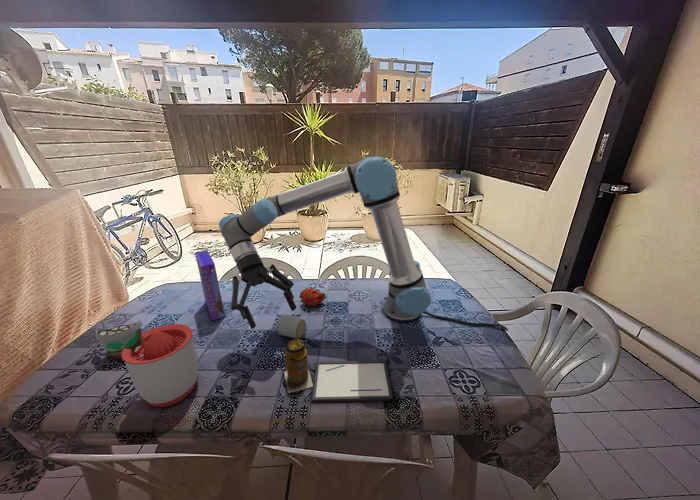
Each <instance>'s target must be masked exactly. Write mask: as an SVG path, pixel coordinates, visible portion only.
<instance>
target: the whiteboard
mask: <svg viewBox="0 0 700 500" xmlns="http://www.w3.org/2000/svg"><path fill="white" fill-rule="evenodd" d="M393 400H394V397H393V391H392V386H391V380H390V376H389V371H388V366H387V361H386V360H385V359H384V360H382V359H381V360H380V359H379V360H336V361H335V360H333V361H332V360H331V361H329V360H327V361H316V365H315V372H314V381H313V387H312V395H311V402H312V403H336V402H338V403H339V402H341V403H342V402H381V401H382V402H384V401H385V402H388V401H393Z"/></svg>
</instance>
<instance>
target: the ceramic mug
mask: <svg viewBox="0 0 700 500" xmlns="http://www.w3.org/2000/svg"><path fill="white" fill-rule="evenodd" d="M306 327H307V323H306V321H305V320H304V319H303V318H301V317H298V316H294V315H291V314H289V313H285V314H283V315H282V316H281V317H280V318H279V321H278V324H277V333H278V335H280V336H283V337H287V338H291V339H299V340H300V339H301V338H302V337H303V335H304V334H305V331H306Z"/></svg>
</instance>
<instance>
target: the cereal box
mask: <svg viewBox="0 0 700 500" xmlns="http://www.w3.org/2000/svg"><path fill="white" fill-rule="evenodd" d="M194 255H195V259H196V265H197V269H198V273H199V278H200V282H201V283H200V284H201V286H202V291H203V295H204V300H205V304H206V307H207V310H208V313H209V316H210V319H211V321H213V322H214V321H216V320H220V319H223V318H226V315H225V310H224V306H223V305H224V304H223V300H222V295H221V290H220V289H221V288H220V283H219V280H218V274H217V269H216V263H215V261H214V260H213V258H212V255H210V253H209V251H208V250H202V251H198V252H195V253H194Z"/></svg>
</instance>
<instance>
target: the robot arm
mask: <svg viewBox="0 0 700 500" xmlns="http://www.w3.org/2000/svg"><path fill="white" fill-rule="evenodd" d="M397 180H398V175H397V171H396V169H395V166H394V164H392V163H391V161H389V160H388V159H386V158H385V157H382V156H376V155H370V156H366V157H365V158H363V159H361V160H359V161H358V162H355V163H354V164H351V165H348V166H346V167H345V168H344V170H343V171H341V172H338V173H335V174H332V175H329V176H327V177H324V178H321V179H318V180H315V181H312V182H310V183H306V184H304V185H301V186H298V187H296V188H293V189H290V190H287V191H284V192H281V193H278V194H275V195H273V196H267V197H266V198H261V199H259V200H257V201H256V202H255V203H253V205H251V206H250V207H249V208H248V209H246V210H245V211H244V212H242V213H241V214H240V215H239V214H236V213H233V214H231V213H230V214H228V215H227V216H223V217H222V218H221V219H219V222H218V227H219V229H220V233H221V236H222V238H223V239H224V241H225V243H226V245H227V247H228V250H229V252H230V254H231V257H232V259H233V261H234V262H235V265H236V267H237V271H238V272H239V274H240V275H239V276H237V275H233V277H232V279H231V283H232V294H231V302H230V303H231V304H230V310H231V311H235V310H236V311H238V312H239V313H240V315H241V318H242V319H243V320H247V323H248V325H249V327H250V329H251V330H254V329H255V328H256V327H257V324H256V322H255V320H254V318H253V315H252V313H251V310H250V309H249V305H245V304H246V300H247V298H248V295H249V293H250V289H251V287H256V286H258V285H262V284H264V283H265V284H268V285H271V286H273V287H275V288H277V289H279V290H280V291H283V296H284V298H285V300H286V302H287V304H288V307H289V308H290V310H291V312H293V311H295V310H296V309H297V305H296V303H295V301H294V298H295V296H294V293H293V292H292V290H291V289H292V288H293V286H294V285H295V283H294V282H293V281H292V280H291V279H290V278H289V277H287V276H286V275H285V274H284V273H282V272H281V271H280V270H278V269H277V267H276V266H275V264H271V265H270V266H268V267H266V266H265V265H264V263H263V262H264V261H263V259H262V258H261V257H260V255H259V252H258V250H257V248H256V246H255V244H254V242H253V240H252V237H253V236H254V235H255V234H257V233H258V232H260V231H261V230H262V229H264V228H265V227H267V226H268V225H270V224H272V223H273V222H274V221H275V220H276V219H277V218H279V217H282V216H286V215H287V214H290V213H293V212H296V211H300V210H302V209H305V208H309V207H311V206H314V205H317V204H320V203H323V202H326V201H329V200H332V199H334V198H338V197H341V196H345V195H347V194H349V193H351V194H354V195H356V194H359V196H360V199H361V201H362V204H363V207H364V208H365V209H367V210H369V211H370V213H371V216H372V219H373V222H374V225H375V228H376V232H377V234H378V237H379V240H380V244H381V247H382V249H383V253H384V255H385V259H386V262H387V264H388V268H389V277H388V293H387V296H384V298H383V301H384V303H383V308H382V309H383V314H384V315H385V316H386V317H387V318H389V319H391V320H392V321H395V322H400V323H409V322H414V321H416V320H417V319H419V318H420V315H421V314H425V315H427V316H430V317H433V318H435V319H441V320H444V321H445V320H447V321H451V322H456V323H460V324H464V325H469V326H488V327H496V328H501V327H502V329H503V330H504V331H506V332H509V328H507V327H506V326H505V325H504V324H500V323H490V322H473V321H472V322H471V321H465V320H461V319H457V318H454V317H447V316H442V315H436V314H433V313H431V312H429V311H426V310H427V309H428V308H429V307H430V305H431V303H432V295H431V292H430V291H429V289H428V287H427V285H426V281H425V277H424V274H423V271H422V269H421V264H420V262H419V261H417V260H415V259H414V255H413V252H412V249H411V246H410V241H409V238H408V235H407V232H406V229H405V225H404V220H403V218H402V215H401V212H400V207H399V205H398V201H399V198H400V196H401V193H400V190H399V186H398V183H397ZM268 273H269V274H268ZM273 276H274V277H273ZM241 281H242V282H244V283H245V287H244V289H243V293H242V295H241V298H240V301H239V303H238V298H239V289H240V288H239V287H240V286H239V285H240V283H241ZM499 326H501V327H499Z"/></svg>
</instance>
